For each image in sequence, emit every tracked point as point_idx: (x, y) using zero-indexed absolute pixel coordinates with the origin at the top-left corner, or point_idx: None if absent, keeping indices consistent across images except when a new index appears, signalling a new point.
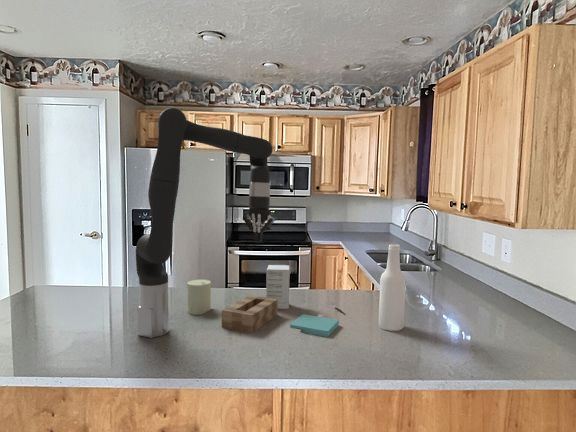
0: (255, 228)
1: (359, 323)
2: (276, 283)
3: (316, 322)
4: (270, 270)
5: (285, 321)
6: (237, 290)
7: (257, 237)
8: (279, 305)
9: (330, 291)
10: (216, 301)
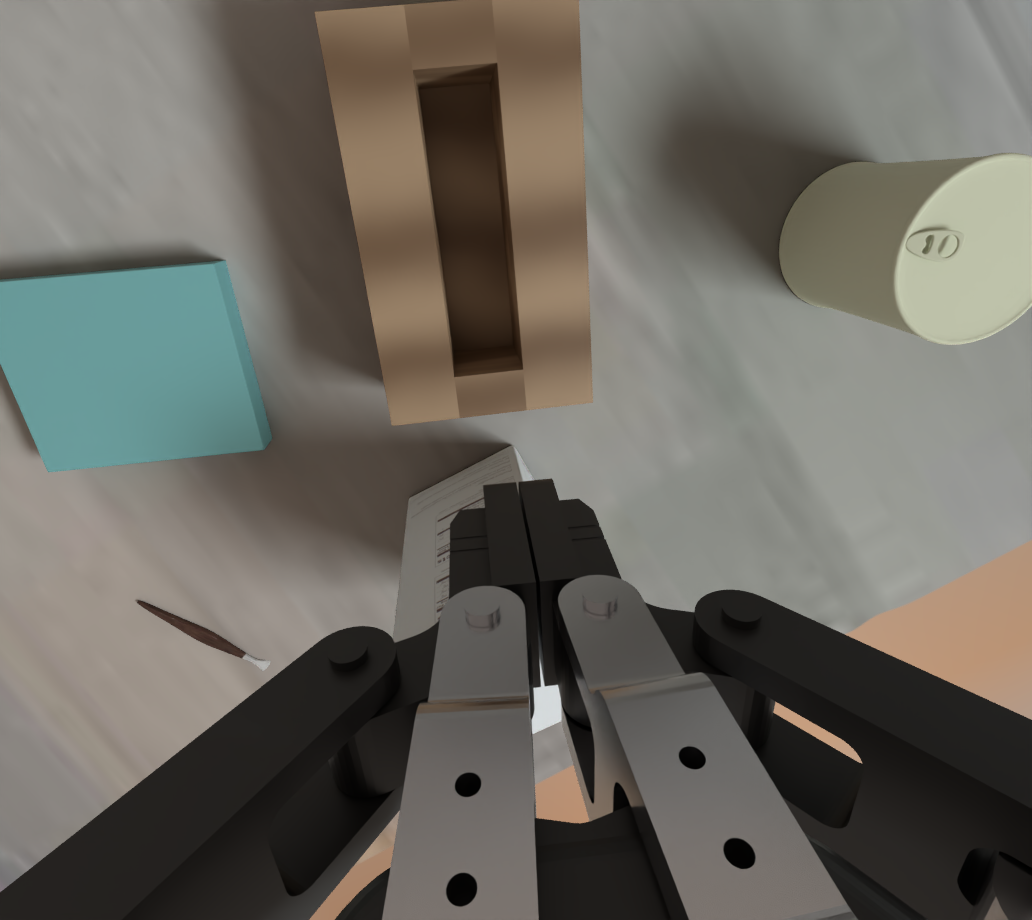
0: (594, 643)
1: (4, 538)
2: None
3: (116, 375)
4: None
5: (326, 360)
6: (811, 613)
7: (506, 524)
8: (448, 488)
9: None
10: (829, 420)
